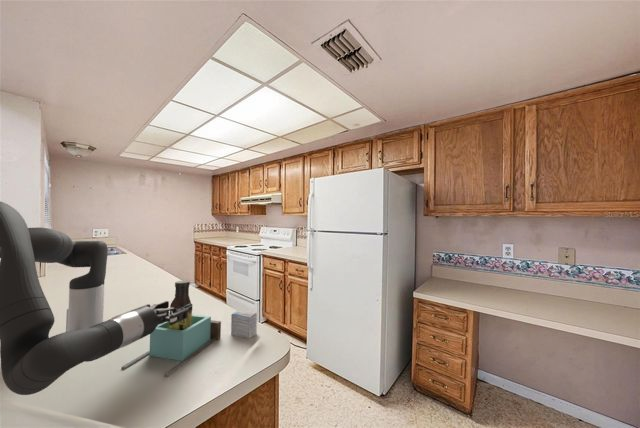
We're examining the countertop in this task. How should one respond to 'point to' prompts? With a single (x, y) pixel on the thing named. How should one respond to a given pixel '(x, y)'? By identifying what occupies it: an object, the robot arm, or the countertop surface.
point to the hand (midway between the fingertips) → (179, 305)
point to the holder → (180, 339)
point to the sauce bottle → (181, 304)
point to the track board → (214, 335)
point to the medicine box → (244, 323)
